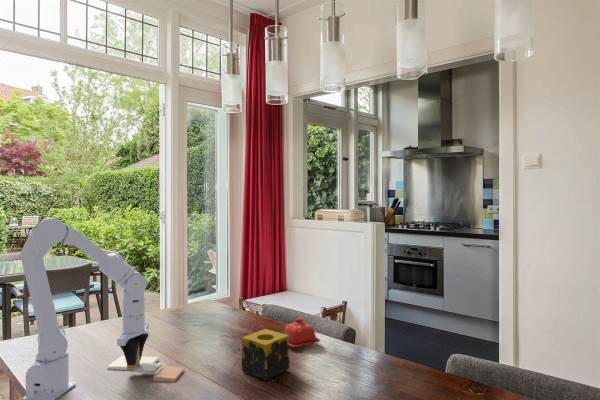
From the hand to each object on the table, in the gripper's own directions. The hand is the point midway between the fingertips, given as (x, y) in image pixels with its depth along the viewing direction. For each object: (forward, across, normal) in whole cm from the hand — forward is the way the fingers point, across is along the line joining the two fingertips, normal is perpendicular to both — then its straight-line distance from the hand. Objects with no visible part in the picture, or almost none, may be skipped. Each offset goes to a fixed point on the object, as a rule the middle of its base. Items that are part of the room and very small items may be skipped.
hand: (133, 362), depth 116 cm
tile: (+3, 0, -7) cm, 8 cm away
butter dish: (+4, +31, -44) cm, 54 cm away
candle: (+4, +6, -36) cm, 37 cm away
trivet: (+3, +7, +4) cm, 9 cm away
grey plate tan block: (+2, 0, 0) cm, 2 cm away
